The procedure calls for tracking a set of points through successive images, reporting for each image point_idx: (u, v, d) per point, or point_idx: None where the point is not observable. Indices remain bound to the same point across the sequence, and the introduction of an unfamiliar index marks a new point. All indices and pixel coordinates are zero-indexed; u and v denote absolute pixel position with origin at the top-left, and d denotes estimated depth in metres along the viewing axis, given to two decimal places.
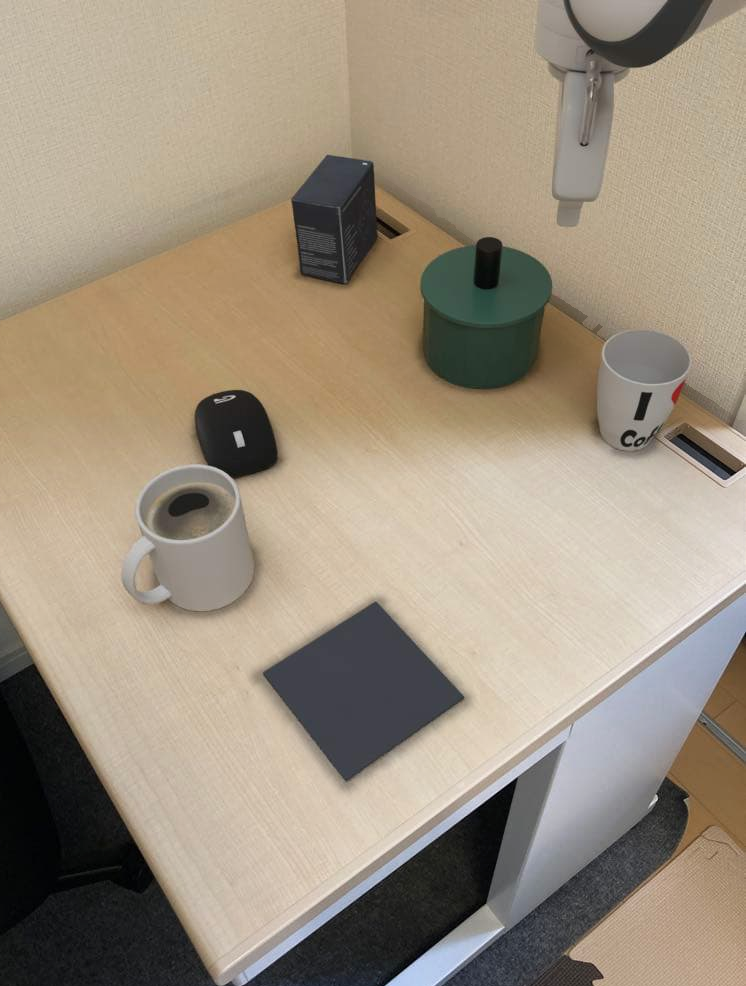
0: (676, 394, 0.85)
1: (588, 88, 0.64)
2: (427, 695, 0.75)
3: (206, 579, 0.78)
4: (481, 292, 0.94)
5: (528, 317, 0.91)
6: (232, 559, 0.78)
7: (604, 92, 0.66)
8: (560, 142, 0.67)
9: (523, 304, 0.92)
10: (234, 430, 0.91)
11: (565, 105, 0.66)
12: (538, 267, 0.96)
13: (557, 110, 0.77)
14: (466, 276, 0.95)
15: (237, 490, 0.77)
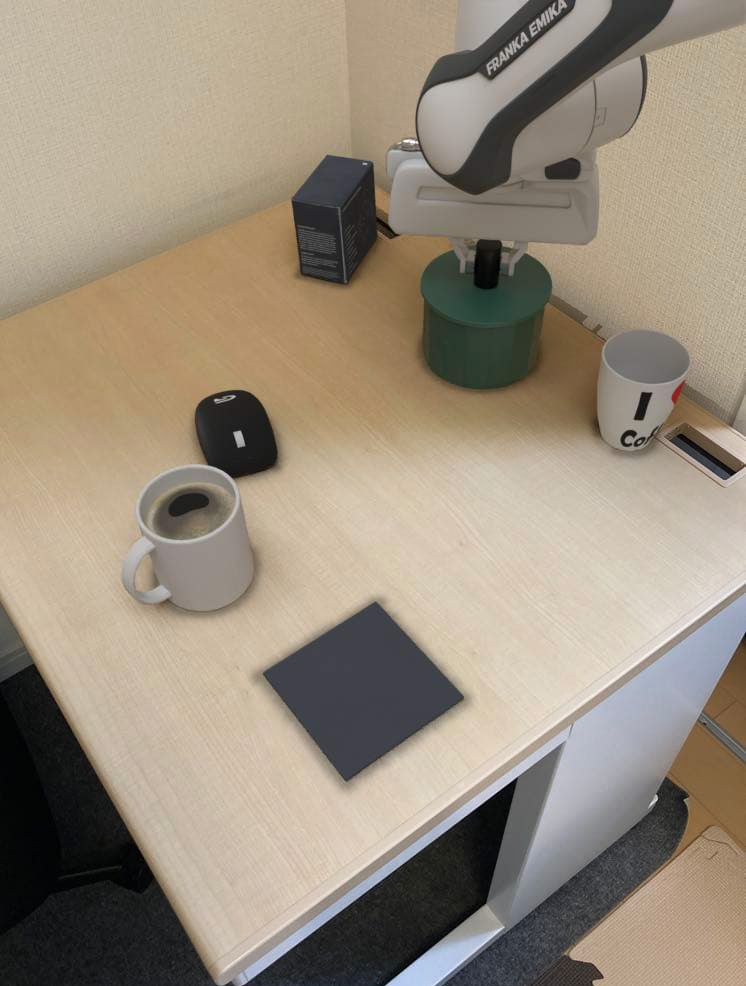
0: (676, 394, 0.85)
1: None
2: (427, 695, 0.75)
3: (206, 579, 0.78)
4: (481, 292, 0.94)
5: (528, 317, 0.91)
6: (232, 559, 0.78)
7: (418, 162, 0.85)
8: None
9: (523, 304, 0.92)
10: (234, 430, 0.91)
11: None
12: (538, 267, 0.96)
13: None
14: (466, 276, 0.95)
15: (237, 490, 0.77)
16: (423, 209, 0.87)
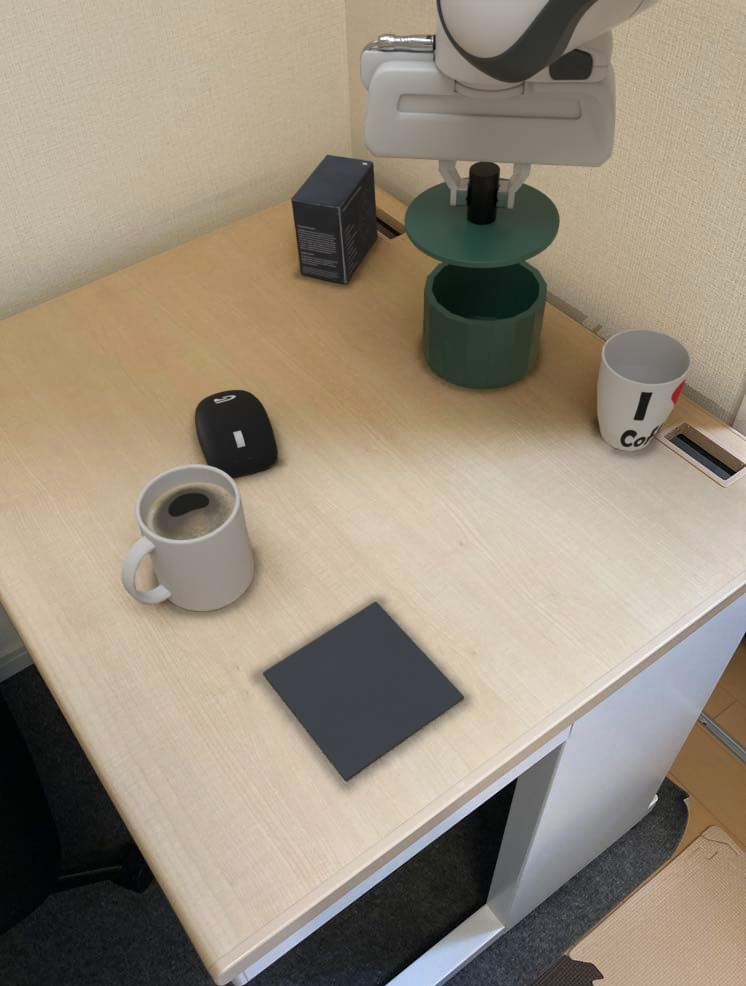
0: (676, 394, 0.85)
1: None
2: (427, 695, 0.75)
3: (206, 579, 0.78)
4: (476, 228, 0.79)
5: (530, 255, 0.77)
6: (232, 559, 0.78)
7: (397, 64, 0.71)
8: None
9: (525, 241, 0.78)
10: (234, 430, 0.91)
11: None
12: (543, 200, 0.82)
13: None
14: (458, 211, 0.81)
15: (237, 490, 0.77)
16: (404, 124, 0.73)
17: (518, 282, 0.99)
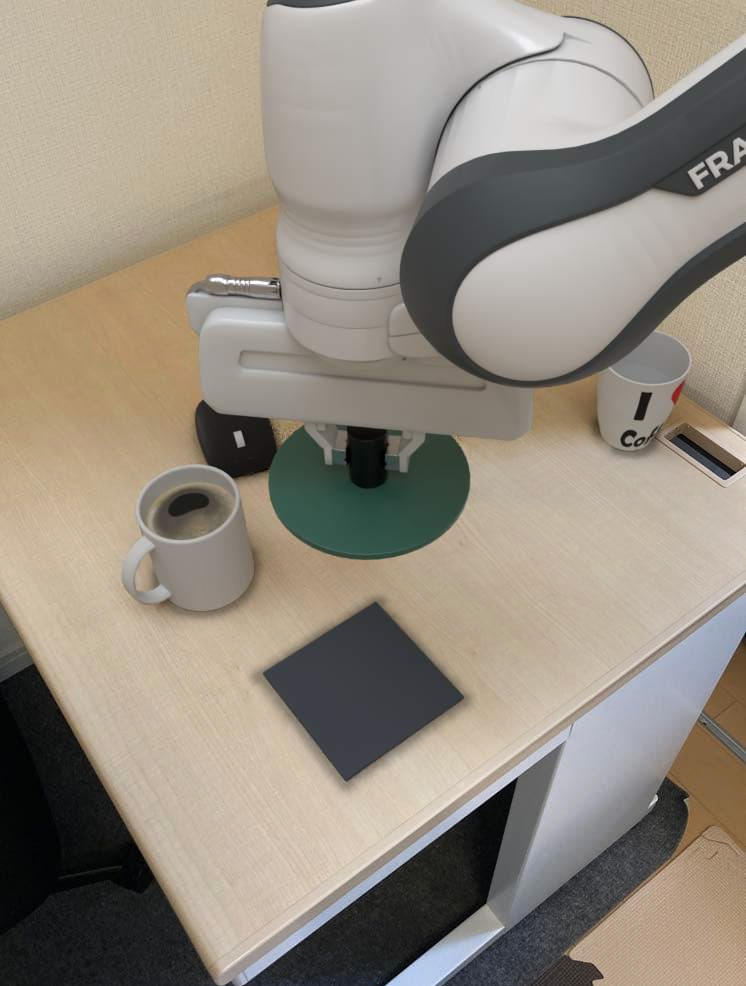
0: (676, 394, 0.85)
1: None
2: (427, 695, 0.75)
3: (206, 579, 0.78)
4: (360, 494, 0.60)
5: (428, 542, 0.58)
6: (232, 559, 0.78)
7: (234, 314, 0.51)
8: None
9: (422, 518, 0.59)
10: (234, 430, 0.91)
11: None
12: (451, 448, 0.62)
13: None
14: None
15: (237, 490, 0.77)
16: (251, 383, 0.54)
17: None
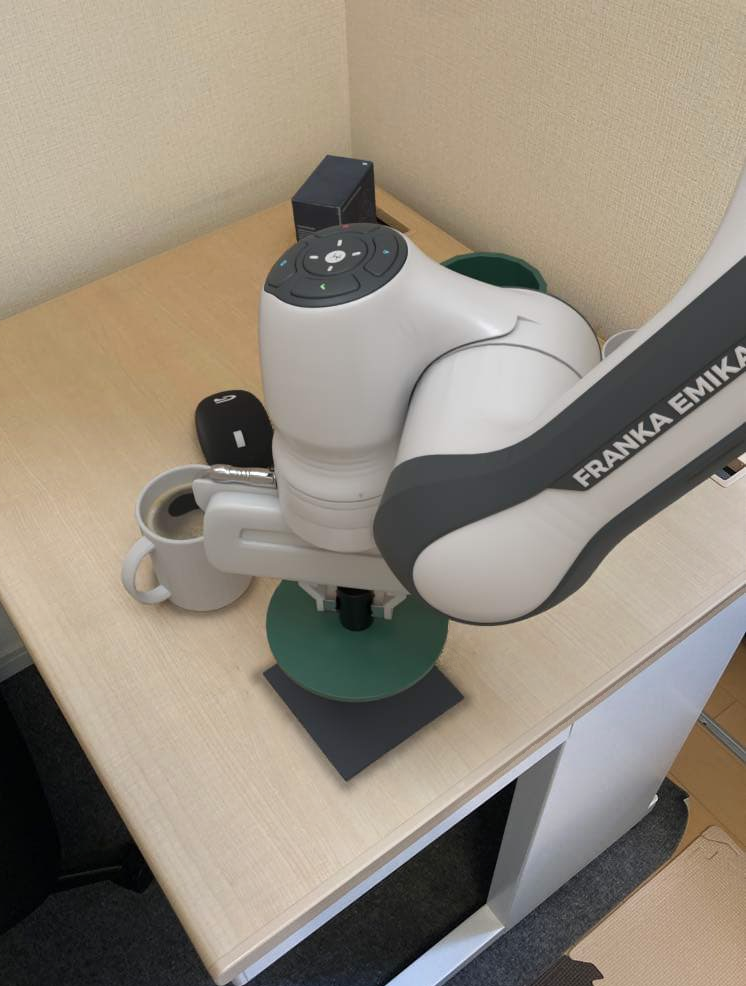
0: None
1: None
2: (427, 695, 0.75)
3: (206, 579, 0.78)
4: (349, 636, 0.67)
5: (410, 685, 0.64)
6: None
7: (235, 498, 0.58)
8: None
9: (404, 662, 0.65)
10: (234, 430, 0.91)
11: None
12: None
13: None
14: None
15: None
16: (251, 552, 0.60)
17: (518, 282, 0.99)
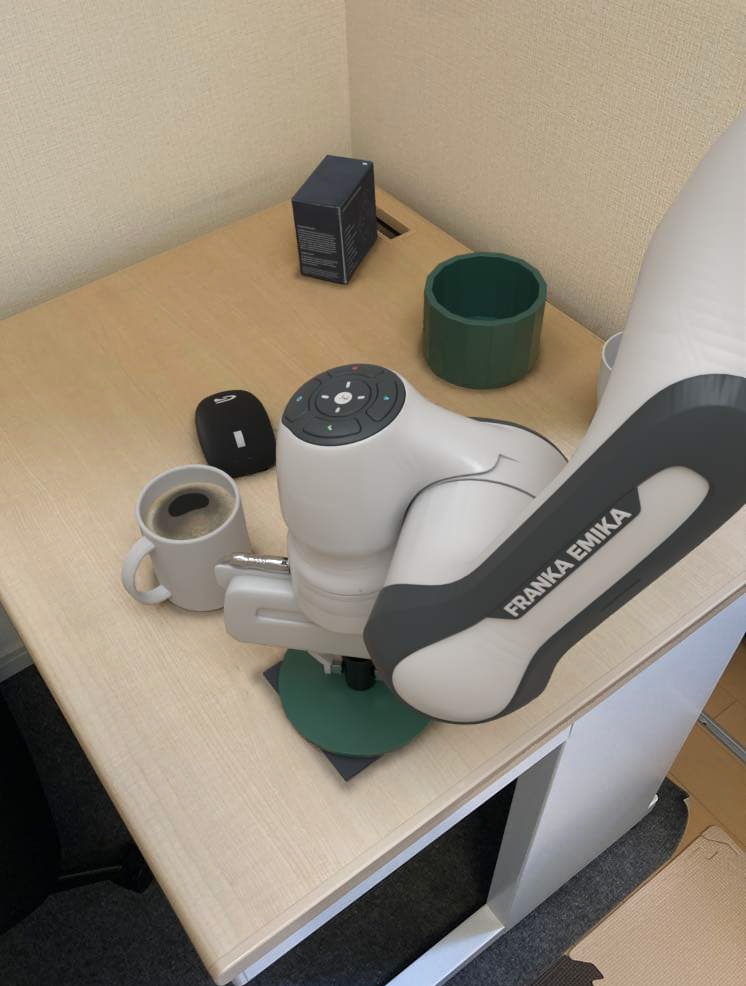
0: None
1: None
2: None
3: (206, 579, 0.78)
4: (353, 696, 0.73)
5: (409, 741, 0.71)
6: None
7: (252, 582, 0.65)
8: None
9: (404, 720, 0.72)
10: (234, 430, 0.91)
11: None
12: None
13: None
14: None
15: (237, 490, 0.77)
16: (266, 626, 0.68)
17: (518, 282, 0.99)
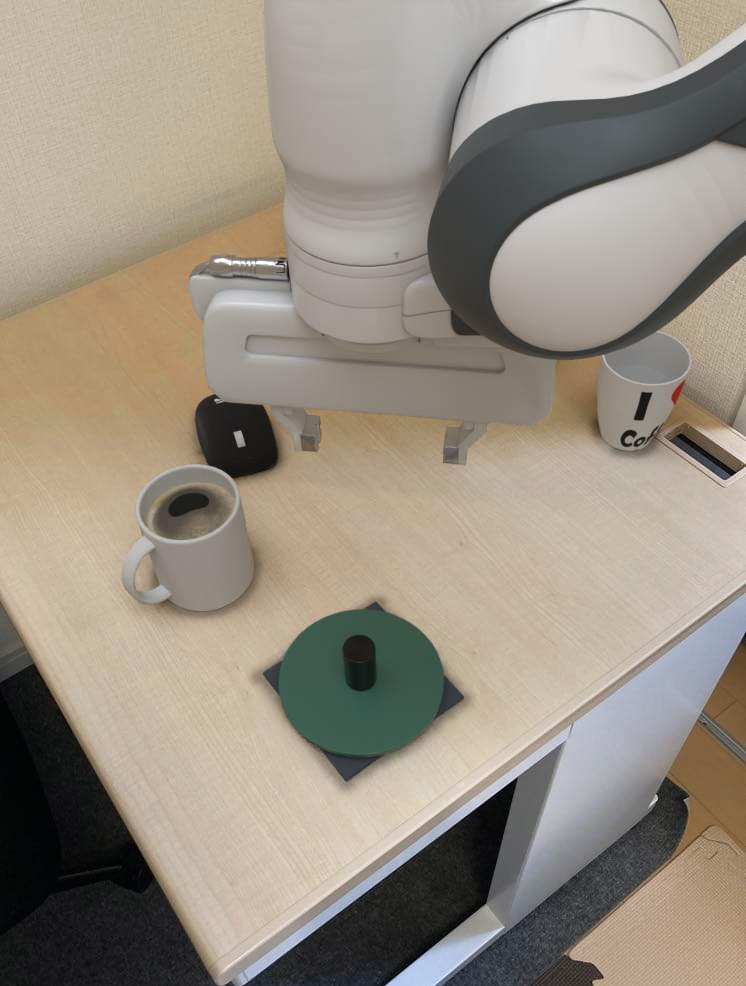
0: (676, 394, 0.85)
1: None
2: None
3: (206, 579, 0.78)
4: (353, 696, 0.73)
5: (409, 741, 0.71)
6: (232, 559, 0.78)
7: (239, 296, 0.49)
8: None
9: (404, 720, 0.72)
10: (235, 430, 0.91)
11: None
12: (429, 652, 0.76)
13: None
14: (337, 666, 0.75)
15: (237, 490, 0.77)
16: (259, 369, 0.52)
17: None
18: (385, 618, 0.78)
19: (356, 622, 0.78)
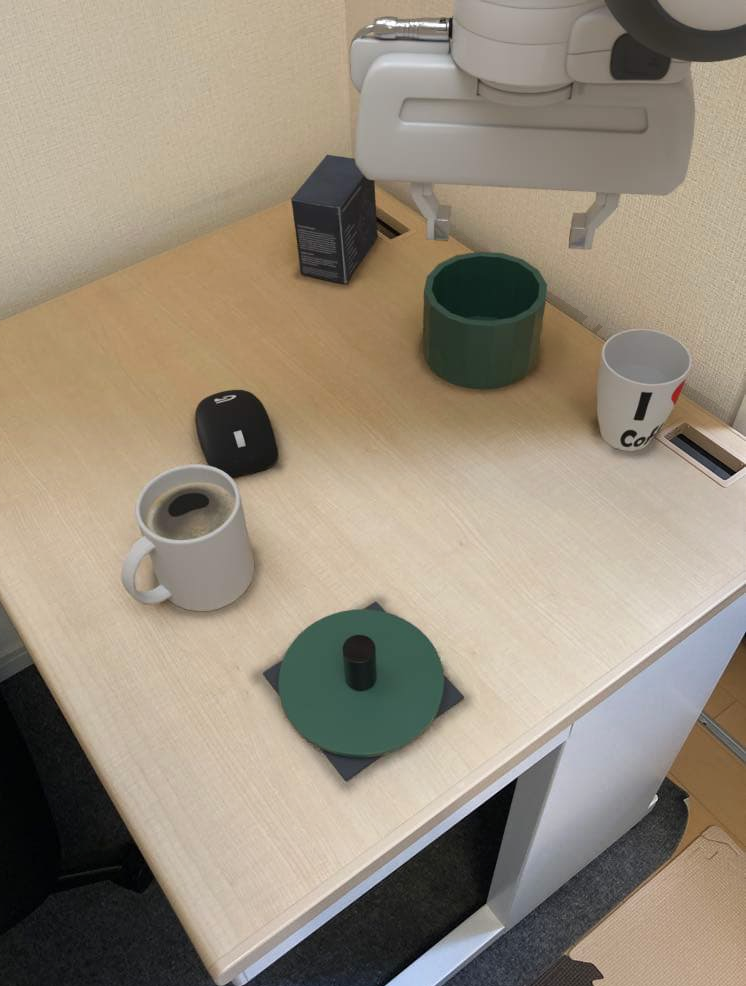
0: (676, 394, 0.85)
1: None
2: None
3: (206, 579, 0.78)
4: (353, 696, 0.73)
5: (409, 741, 0.71)
6: (232, 559, 0.78)
7: (400, 57, 0.52)
8: None
9: (404, 720, 0.72)
10: (235, 429, 0.91)
11: None
12: (429, 652, 0.76)
13: None
14: (337, 666, 0.75)
15: (237, 490, 0.77)
16: (409, 138, 0.55)
17: (518, 282, 0.99)
18: (385, 618, 0.78)
19: (356, 622, 0.78)
